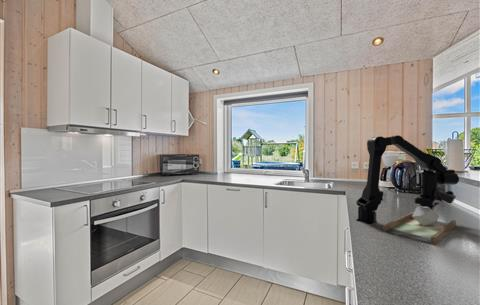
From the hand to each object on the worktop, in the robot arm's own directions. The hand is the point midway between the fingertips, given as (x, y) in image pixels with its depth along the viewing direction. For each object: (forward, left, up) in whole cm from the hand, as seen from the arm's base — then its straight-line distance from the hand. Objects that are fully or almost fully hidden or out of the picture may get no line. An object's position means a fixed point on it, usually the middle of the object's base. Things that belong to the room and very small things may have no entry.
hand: (428, 217), depth 99 cm
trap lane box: (0, -12, -2) cm, 12 cm away
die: (0, -6, -2) cm, 6 cm away
